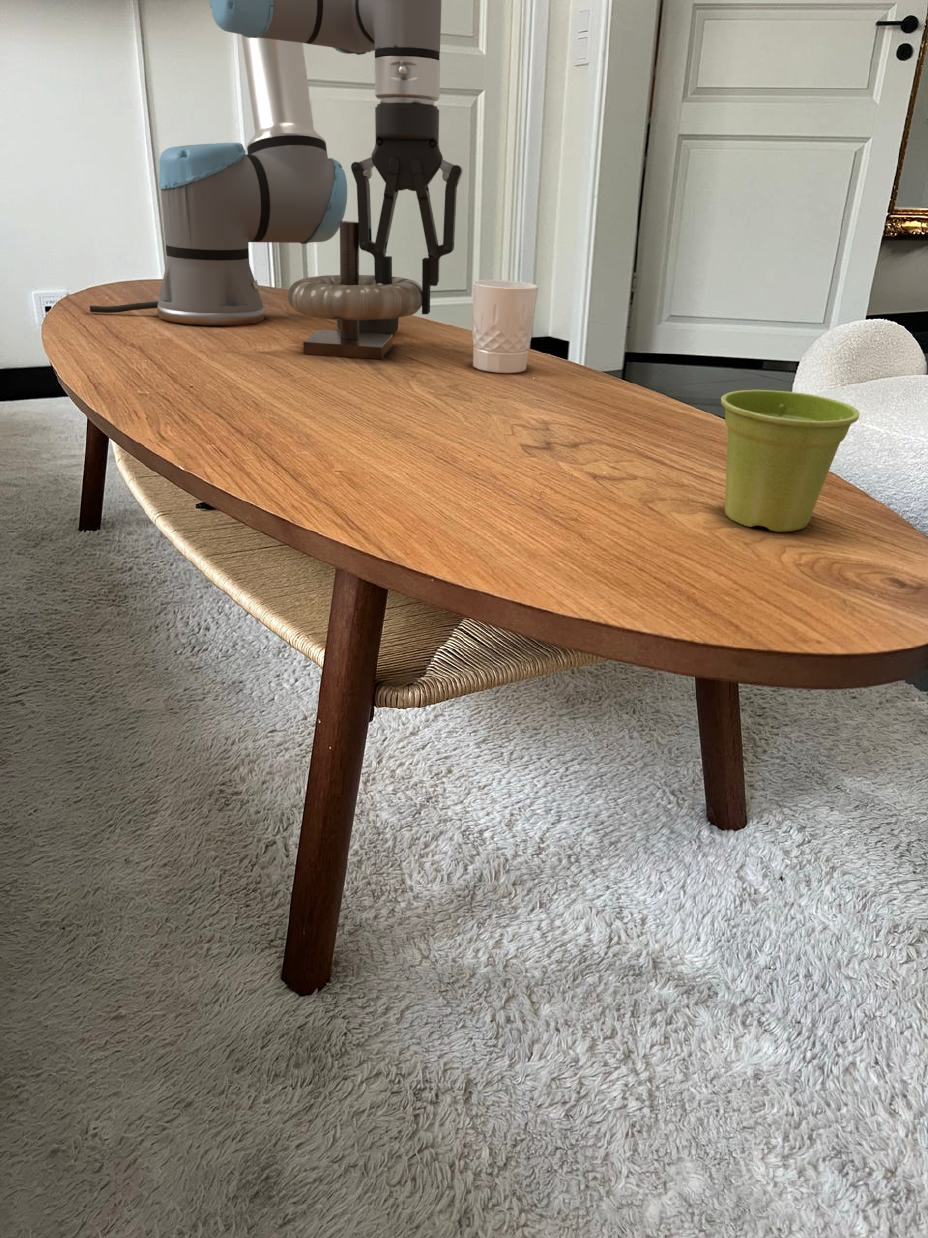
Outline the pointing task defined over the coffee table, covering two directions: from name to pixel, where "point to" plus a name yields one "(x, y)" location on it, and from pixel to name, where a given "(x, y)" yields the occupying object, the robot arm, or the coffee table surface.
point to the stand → (348, 337)
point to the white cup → (502, 324)
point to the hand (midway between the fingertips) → (406, 311)
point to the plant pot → (780, 454)
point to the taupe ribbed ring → (355, 298)
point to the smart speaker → (377, 326)
